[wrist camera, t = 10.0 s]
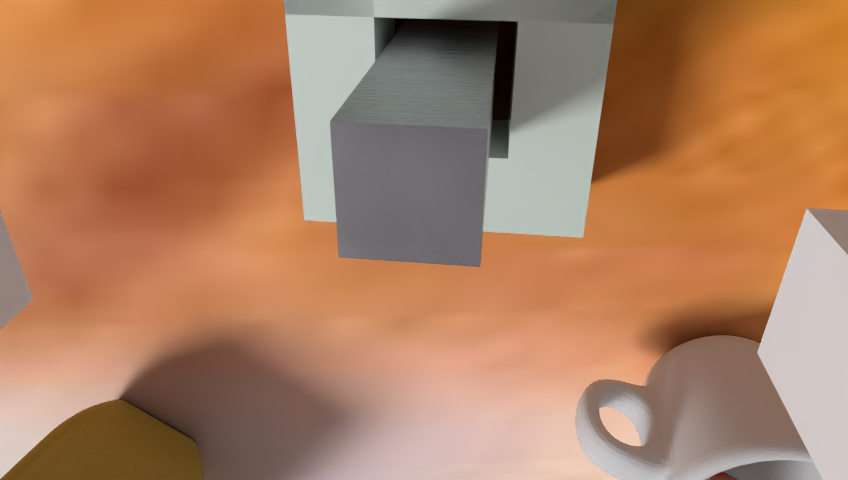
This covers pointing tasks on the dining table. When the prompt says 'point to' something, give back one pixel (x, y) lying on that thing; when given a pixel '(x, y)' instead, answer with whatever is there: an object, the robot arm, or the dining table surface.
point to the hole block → (510, 139)
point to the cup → (697, 419)
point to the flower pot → (111, 449)
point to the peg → (418, 146)
